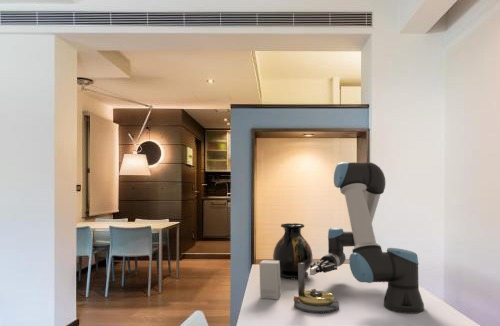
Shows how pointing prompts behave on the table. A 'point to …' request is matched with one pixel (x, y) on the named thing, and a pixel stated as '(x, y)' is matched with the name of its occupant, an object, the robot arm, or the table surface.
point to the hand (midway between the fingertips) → (311, 272)
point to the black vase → (292, 251)
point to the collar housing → (316, 309)
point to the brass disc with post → (305, 295)
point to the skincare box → (270, 279)
